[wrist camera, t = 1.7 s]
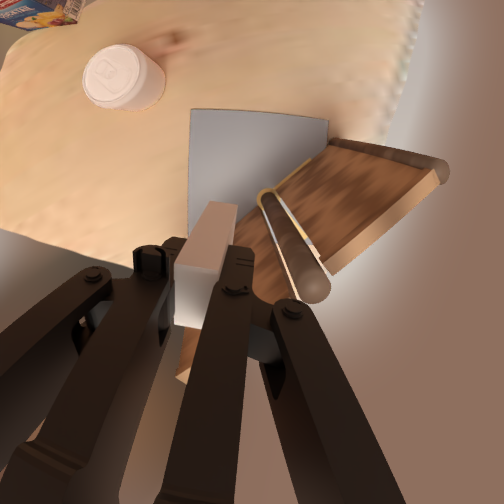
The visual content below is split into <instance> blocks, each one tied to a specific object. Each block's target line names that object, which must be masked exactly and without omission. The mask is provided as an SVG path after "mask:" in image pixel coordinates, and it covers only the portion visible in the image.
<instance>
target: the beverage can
mask: <svg viewBox="0 0 504 504" xmlns="http://www.w3.org/2000/svg"><path fill="white" fill-rule="evenodd" d="M82 83H83V89H84V91H85V93H86V95H87V97H88V98H89V100H90V101H91V102H92V103H94V104H95V105H97V106H99V107H102V108H107V109H117V110H125V111H143V110H146V109H148V108H150V107H151V106H153V105H154V104H155V103H156V102H157V101H158V100H159V99H160V97H161V96H162V94H163V92H164V89H165V83H166V80H165V75H164V72H163V70H162V69H161V67H160V66H159V65H158V64H156V63H155V62H154V61H153V60H152V59H150V58H149V57H148V56H147V55H145V54H144V53H143V52H142V51H141V50H139V49H138V48H136V47H135V46H132V45H129V44H115V45H111V46H108V47H105V48H103V49H101V50H100V51H98V52H97V53H96V54H95V55H94V56H93V57H92V58H91V59H90V60H89V62H88V63H87V65H86V67H85V70H84V73H83V78H82Z"/></svg>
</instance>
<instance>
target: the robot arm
mask: <svg viewBox="0 0 504 504" xmlns="http://www.w3.org/2000/svg"><path fill="white" fill-rule="evenodd" d="M237 208H238V205H236V204H230V203H223V202H216V201H209V203H208V205H207V206H206V208H205V210H204V211H203V213H202V215H201V216H200V218H199V220H198V222H197V223H196V225H195V227H194V228H193V230H192V232H191V234H190V235H189V237H188V239H185V238H178V237H171V238H169V239H168V240H166V241H165V242H164V243H163V244H162V246H158V245H145V246H141V247H138V248H136V249H135V250H134V251H133V265H134V273H133V274H132V276H131V277H130V278H125V279H112V277H111V273H110V271H109V270H108V269H106V268H104V267H100V266H92V267H89V268H85V269H84V270H82V271H80V272H79V273H77V274H76V275H74V276H73V277H72V278H70V279H69V280H68V281H66V282H65V283H63V284H62V285H61V286H60V287H58V288H57V289H55V290H54V291H53V292H51V293H50V294H49V295H47V296H46V297H45V298H44V299H42V300H41V301H40V302H38V303H37V304H36V305H34V306H33V307H32V308H31V309H29V310H28V311H27V312H26V313H25V314H23V315H22V316H21V317H20V318H18V319H17V320H16V321H15V322H13V323H12V324H11V325H10V326H8V327H7V328H6V329H5V330H4V331H3V332H1V333H0V472H1V471H2V469H4V467H5V466H6V465H7V464H8V465H7V467H6V469H5V472H4V474H3V477H2V479H1V482H0V504H119V498H118V495H119V489H120V486H121V482H122V479H123V475H124V472H125V468H126V465H127V461H128V458H129V455H130V451H131V448H132V445H133V442H134V439H135V435H136V432H137V429H138V426H139V423H140V420H141V417H142V414H143V411H144V408H145V405H146V402H147V399H148V396H149V393H150V390H151V387H152V384H153V381H154V378H155V376H156V373H157V370H158V367H159V364H160V361H161V359H162V356H163V353H164V350H165V348H166V345H167V342H168V340H169V337H170V334H171V321H172V318H173V316H174V324H176V325H181V326H186V327H191V328H197V329H201V333H200V336H199V340H198V344H197V347H196V351H195V355H194V358H193V362H192V366H191V370H190V374H189V377H188V381H187V385H186V389H185V393H184V397H183V401H182V405H181V408H180V413H179V416H178V420H177V425H176V428H175V433H174V437H173V441H172V445H171V449H170V453H169V457H168V462H167V466H166V471H165V475H164V479H163V483H162V487H161V490H160V492H159V494H158V495H157V497H156V499H155V501H154V503H153V504H234V494H235V483H236V473H237V463H238V451H239V442H240V430H241V420H242V409H243V398H244V388H245V377H246V366H247V356H248V357H250V358H253V359H255V360H258V361H259V366H260V370H261V374H262V378H263V381H264V385H265V389H266V392H267V396H268V400H269V403H270V407H271V410H272V414H273V418H274V421H275V425H276V428H277V432H278V435H279V439H280V443H281V446H282V450H283V453H284V456H285V460H286V463H287V467H288V470H289V473H290V477H291V480H292V483H293V487H294V490H295V494H296V497H297V500H298V503H299V504H406V503H405V500H404V498H403V496H402V494H401V491H400V489H399V487H398V485H397V482H396V481H395V478H394V476H393V474H392V472H391V470H390V467H389V465H388V463H387V461H386V459H385V457H384V454H383V452H382V450H381V448H380V446H379V444H378V442H377V440H376V437H375V435H374V433H373V431H372V429H371V427H370V425H369V423H368V421H367V419H366V417H365V414H364V412H363V410H362V408H361V406H360V404H359V402H358V400H357V398H356V396H355V394H354V392H353V390H352V388H351V386H350V384H349V382H348V380H347V378H346V376H345V374H344V372H343V370H342V368H341V366H340V364H339V362H338V360H337V358H336V356H335V354H334V352H333V350H332V348H331V346H330V344H329V343H328V340H327V338H326V336H325V334H324V333H323V331H322V329H321V327H320V325H319V323H318V321H317V319H316V317H315V315H314V313H313V312H312V310H311V308H310V307H309V306H308V305H307V304H305V303H304V302H302V301H299V300H296V299H291V298H285V299H280V300H278V301H276V302H275V303H274V305H272V304H270V303H267V302H265V301H263V300H261V299H260V298H258V297H257V296H256V295H255V294H254V292H253V289H252V284H253V273H254V261H255V253H254V252H253V250H252V249H251V248H248V247H242V246H235V245H232V244H233V237H234V230H235V222H236V215H237ZM83 316H84V317H85V320H86V321H85V322H84V323H82V324H80V323H79V320H80V319H81V318H82V317H83ZM45 418H46V419H45ZM44 419H45V421H44V423H43V425H42V427H41V429H40V432H39V433H38V435H37V437H36V438H35V439H34V440H33V441H29V442H26V440H27V439H28V438H29V437H30V436H31V434H32V433H33V432H34V431H35V430H36V428H37V427H38V426H39V425H40V424H41V422H42V421H43V420H44Z"/></svg>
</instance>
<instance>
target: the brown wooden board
mask: <svg viewBox="0 0 504 504" xmlns="http://www.w3.org/2000/svg"><path fill="white" fill-rule="evenodd" d="M232 245H235V246H242V247H248V248H251V249H252V250H253V252H254V253H255V261H254V273H253V284H252V289H253V292H254V294H255V295H256V296H257V297H258V298H260V299H261V300H263V301H265V302H267V303H270V304H272V305H274V303H275V302H276V301H278V300H280V299H285V298H291V299H296V296H295V293H294V291H293V288H292V285H291V283H290V280H289V277H288V275H287V272H286V269H285V267H284V264H283V262H282V259H281V256H280V254H279V251H278V249H277V246H276V243H275V241H274V238H273V236H272V233H271V231H270V228H269V226H268V223H267V221H266V218H265V215H264V213H263V210H262V209H261V208H260V207H259V206H257V207H255V208H254V209H253V210H252V211H251V212H250V213H248V214H247V215H246V216H245V217H244V218H243V219H241V220H240V221H239V222H238V223H237V224H236V225H235V230H234V237H233V244H232ZM296 300H297V299H296ZM200 333H201V329H197V328H191V327H186V326H185V331H184V337H183V343H182V349H181V355H180V361H179V368H177V369H176V375H175V377H176V378H177V379H179V380H181V381H182V382H184V383H185V384H187V381H188V377H189V374H190V370H191V366H192V362H193V358H194V355H195V351H196V347H197V344H198V340H199V336H200Z"/></svg>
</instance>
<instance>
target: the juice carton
mask: <svg viewBox="0 0 504 504" xmlns="http://www.w3.org/2000/svg"><path fill="white" fill-rule="evenodd" d="M85 2H86V0H0V23H3V24H6V25H10V26H13V27H16V28H20V29H23V30H26V31H32V30H37V29H42V28H48V27H55V26H62V25H70V24H77V23H78V20H79V17H80V15H81V12H82V9H83V7H84V4H85Z"/></svg>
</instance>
